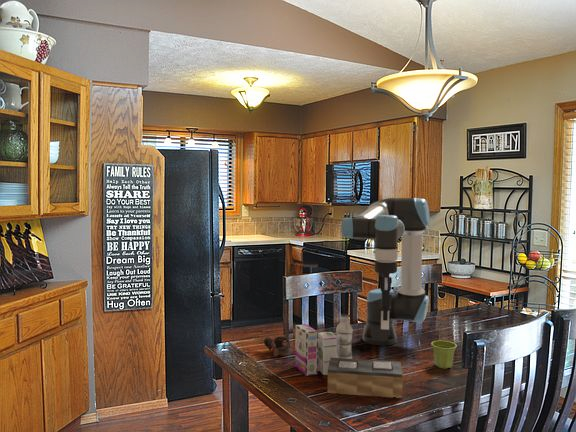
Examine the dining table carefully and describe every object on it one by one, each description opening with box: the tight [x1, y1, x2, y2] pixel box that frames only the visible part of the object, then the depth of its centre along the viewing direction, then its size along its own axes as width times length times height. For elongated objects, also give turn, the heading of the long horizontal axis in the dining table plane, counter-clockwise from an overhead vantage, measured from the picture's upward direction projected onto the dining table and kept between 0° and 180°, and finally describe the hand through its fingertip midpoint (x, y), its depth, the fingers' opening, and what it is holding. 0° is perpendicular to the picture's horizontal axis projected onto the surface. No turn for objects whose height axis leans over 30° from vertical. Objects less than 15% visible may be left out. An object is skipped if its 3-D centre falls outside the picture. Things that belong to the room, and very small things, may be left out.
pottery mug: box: [263, 335, 292, 358], centre depth 209 cm, size 12×10×8 cm
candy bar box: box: [294, 323, 319, 377], centre depth 190 cm, size 11×5×16 cm, turn 22°
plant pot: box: [430, 340, 457, 370], centre depth 195 cm, size 9×9×9 cm
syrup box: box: [317, 331, 338, 376], centre depth 188 cm, size 6×6×14 cm
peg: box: [373, 361, 392, 371], centre depth 172 cm, size 6×6×8 cm
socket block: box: [327, 358, 404, 399], centre depth 173 cm, size 12×25×8 cm, turn 81°
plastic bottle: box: [335, 314, 354, 359], centre depth 193 cm, size 6×7×20 cm
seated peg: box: [338, 361, 357, 369], centre depth 174 cm, size 6×6×8 cm
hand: (384, 328), depth 173 cm, fingers closed
